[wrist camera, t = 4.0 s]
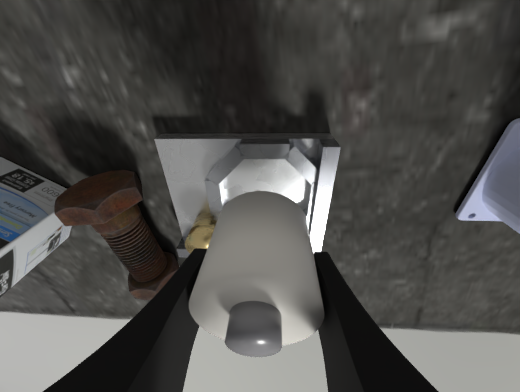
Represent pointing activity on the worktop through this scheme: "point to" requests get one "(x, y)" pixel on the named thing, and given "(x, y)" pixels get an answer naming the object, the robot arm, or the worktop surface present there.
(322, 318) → the white knobbed cylinder
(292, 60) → the worktop surface
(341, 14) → the worktop surface
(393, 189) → the worktop surface
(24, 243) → the light bulb box
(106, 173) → the bolt
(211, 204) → the carrier
